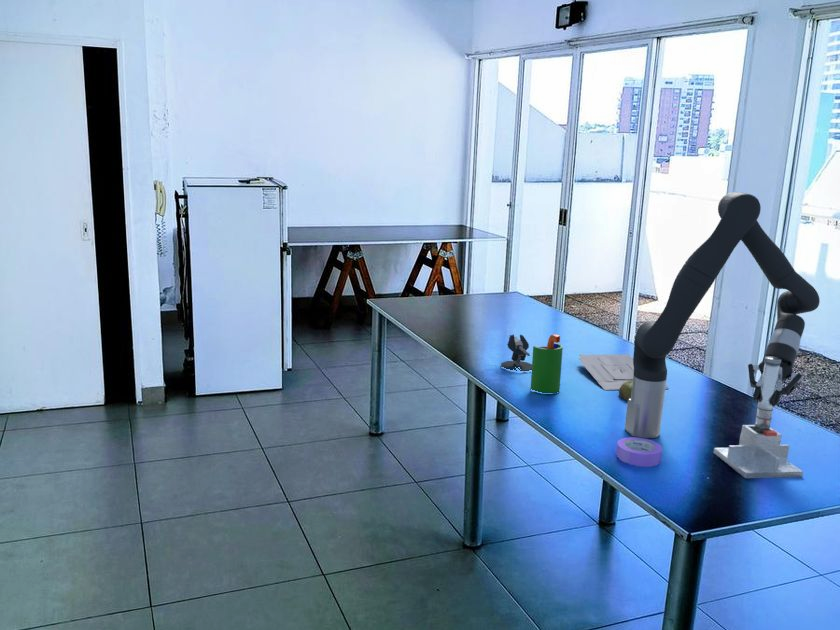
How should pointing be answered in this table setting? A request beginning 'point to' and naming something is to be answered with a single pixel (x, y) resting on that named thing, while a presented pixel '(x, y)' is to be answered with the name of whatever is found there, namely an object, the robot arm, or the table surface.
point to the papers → (610, 369)
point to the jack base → (759, 455)
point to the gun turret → (518, 354)
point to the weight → (626, 390)
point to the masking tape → (639, 451)
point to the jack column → (767, 393)
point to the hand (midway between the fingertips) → (764, 402)
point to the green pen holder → (547, 366)
